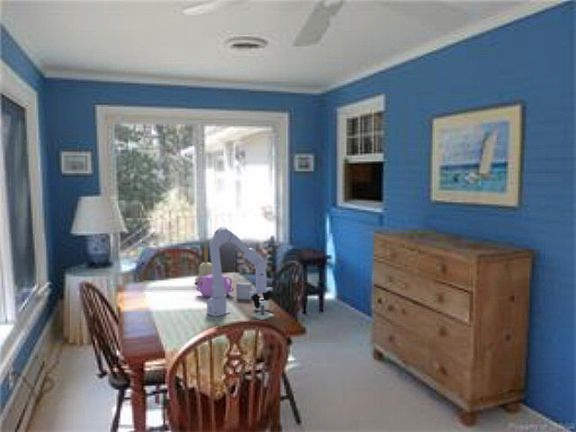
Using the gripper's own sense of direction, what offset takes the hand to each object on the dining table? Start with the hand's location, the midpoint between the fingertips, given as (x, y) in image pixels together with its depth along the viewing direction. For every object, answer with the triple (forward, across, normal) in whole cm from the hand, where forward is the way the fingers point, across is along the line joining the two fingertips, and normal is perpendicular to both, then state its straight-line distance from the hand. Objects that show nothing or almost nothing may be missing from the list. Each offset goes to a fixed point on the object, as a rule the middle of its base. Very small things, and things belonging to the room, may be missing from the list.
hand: (261, 306), depth 244 cm
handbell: (+2, +14, +71) cm, 72 cm away
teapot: (+2, +1, +42) cm, 42 cm away
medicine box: (+2, +7, +23) cm, 24 cm away
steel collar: (+1, 0, 0) cm, 1 cm away
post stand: (+1, -7, -9) cm, 11 cm away
